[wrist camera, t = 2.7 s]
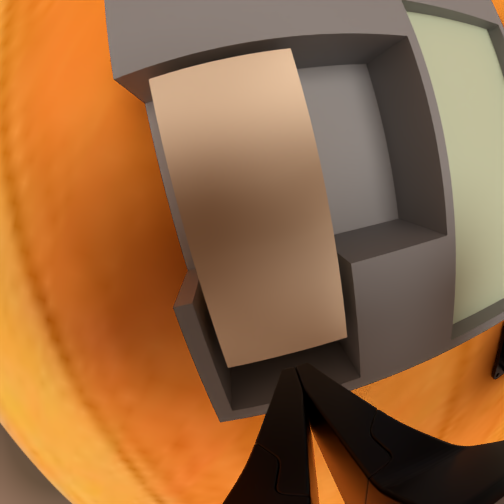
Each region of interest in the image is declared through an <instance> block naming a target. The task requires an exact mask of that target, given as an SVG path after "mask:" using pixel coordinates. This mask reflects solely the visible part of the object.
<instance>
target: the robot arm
mask: <svg viewBox="0 0 504 504" xmlns="http://www.w3.org/2000/svg"><path fill="white" fill-rule="evenodd" d="M503 374H504V326H503V331H502V336H501V341H500V345H499V349H498V354H497V358H496V362H495V365H494V369H493V373H492V378H493V379H497V378H498V377H500V376H501V375H503ZM310 427H311V428H310ZM311 430H312V432H313V434H314V437H315V439H316V441H317V443H318V446H319V448H320V450H321V452H322V454H323V457H324V459H325V461H326V463H327V465H328V468H329V470H330V472H331V474H332V476H333V478H334V481H335V483H336V485H337V487H338V489H339V491H340V494H341V496H342V498H343V500H344V502H345V504H504V440H503V441H498V442H493V443H487V444H481V445H475V446H459V445H454V444H451V443H448V442H445V441H442V440H440V439H437V438H435V437H432V436H430V435H427V434H425V433H423V432H420V431H418V430H416V429H413V428H411V427H409V426H407V425H405V424H403V423H401V422H399V421H397V420H395V419H393V418H392V417H390V416H388V415H387V414H385V413H383V412H382V411H380V410H377V408H375V407H374V406H372V405H371V404H369V403H368V402H366V401H365V400H363V399H361V398H360V397H358V396H357V395H355V394H354V393H352V392H351V391H349V390H348V389H346V388H345V387H343V386H342V385H340V384H339V383H337V382H336V381H334V380H333V379H331V378H330V377H328V376H327V375H325V374H324V373H323V372H321V371H320V370H318V369H317V368H315V367H314V366H312V365H311V364H310V363H304V364H300V365H297V366H296V367H293V366H292V367H288V368H284V369H282V370H281V373H280V376H279V379H278V382H277V385H276V387H275V390H274V393H273V396H272V399H271V402H270V404H269V407H268V410H267V413H266V415H265V418H264V421H263V424H262V426H261V429H260V431H259V434H258V437H257V439H256V442H255V445H254V447H253V449H252V452H251V454H250V457H249V459H248V461H247V463H246V465H245V468H244V469H243V471H242V473H241V475H240V476H239V478H238V480H237V482H236V483H235V485H234V486H233V488H232V490H231V491H230V493H229V494H228V496H227V497H226V499H225V500H224V502H223V504H319V497H318V487H317V478H316V468H315V460H314V451H313V442H312V435H311Z"/></svg>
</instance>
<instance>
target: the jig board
mask: <svg viewBox="0 0 504 504" xmlns="http://www.w3.org/2000/svg"><path fill="white" fill-rule="evenodd" d="M105 13H106V23H107V33H108V42H109V50H110V57H111V64H112V71H113V78H114V80H115V81H117V82H118V83H119V84H120V85H122V86H123V87H124V88H126V89H127V90H128V91H130V92H131V93H132V94H134V95H135V96H136V97H137V98H139V99H140V100H141V101H143V102H144V103H145V105H146V110H147V115H148V120H149V124H150V129H151V133H152V138H153V142H154V147H155V151H156V155H157V159H158V164H159V168H160V172H161V176H162V180H163V184H164V188H165V192H166V195H167V199H168V203H169V207H170V210H171V214H172V218H173V221H174V225H175V228H176V232H177V236H178V239H179V242H180V246H181V249H182V253H183V256H184V259H185V263H186V266H187V269H188V271H187V274H186V276H185V279H184V281H183V284H182V286H181V289H180V291H179V294H178V296H177V299H176V301H175V304H174V306H173V309H174V311H175V314H176V317H177V320H178V322H179V325H180V328H181V330H182V333H183V336H184V338H185V341H186V343H187V346H188V349H189V351H190V354H191V356H192V359H193V361H194V363H195V366H196V368H197V371H198V373H199V376H200V378H201V380H202V383H203V385H204V387H205V390H206V392H207V394H208V396H209V399H210V401H211V403H212V405H213V408H214V410H215V412H216V414H217V416H218V419H219V421H220V422H225V421H231V420H236V419H242V418H247V417H252V416H257V415H262V414H266V413H267V410H268V407H269V404H270V402H271V399H272V396H273V393H274V390H275V387H276V385H277V382H278V379H279V376H280V373H281V370H282V369H284V368H288V367H292V366H293V367H296V366H297V365H300V364H304V363H310V364H311V365H312V366H314V367H315V368H317V369H318V370H320V371H321V372H323V373H324V374H325V375H327V376H328V377H330V378H331V379H333V380H334V381H336V382H337V383H339V384H340V385H342V386H343V387H345V388H346V389H348V390H349V391H351V390H354V389H357V388H359V387H362V386H365V385H368V384H371V383H373V382H376V381H379V380H381V379H384V378H387V377H389V376H392V375H394V374H397V373H399V372H402V371H404V370H407V369H409V368H411V367H414V366H416V365H418V364H420V363H423V362H425V361H427V360H429V359H432V358H434V357H436V356H438V355H440V354H442V353H444V352H446V351H448V350H450V349H452V348H454V347H456V346H458V345H460V344H462V343H464V342H466V341H468V340H470V339H471V338H473V337H475V336H477V335H479V334H481V333H482V332H484V331H486V330H488V329H489V328H491V327H493V326H494V325H496V324H498V323H499V322H501V321H503V320H504V28H503V25H502V23H501V21H500V18H499V16H498V14H497V12H496V10H495V7H494V5H493V3H492V1H491V0H105ZM288 48H291V51H292V55H293V58H294V61H295V65H296V68H297V72H298V75H299V79H300V82H301V86H302V90H303V93H304V97H305V101H306V105H307V108H308V112H309V116H310V120H311V124H312V129H313V133H314V137H315V141H316V146H317V150H318V154H319V159H320V164H321V168H322V173H323V178H324V183H325V188H326V193H327V198H328V204H329V209H330V215H331V220H332V226H333V232H334V238H335V244H336V251H337V257H338V264H339V271H340V278H341V286H342V294H343V302H344V311H345V320H346V330H347V337H346V338H343V339H340V340H336V341H333V342H330V343H326V344H323V345H319V346H316V347H312V348H309V349H305V350H302V351H298V352H294V353H290V354H286V355H282V356H278V357H274V358H270V359H266V360H262V361H257V362H253V363H249V364H244V365H239V366H235V367H230V368H228V367H227V364H226V361H225V358H224V355H223V352H222V349H221V346H220V343H219V340H218V338H217V335H216V332H215V329H214V326H213V322H212V319H211V316H210V313H209V310H208V307H207V304H206V301H205V298H204V294H203V291H202V288H201V285H200V281H199V278H198V275H197V272H196V268H195V265H194V261H193V258H192V255H191V251H190V248H189V244H188V241H187V237H186V234H185V230H184V227H183V223H182V219H181V216H180V212H179V208H178V204H177V201H176V197H175V193H174V189H173V185H172V181H171V177H170V173H169V169H168V165H167V161H166V157H165V153H164V148H163V144H162V140H161V135H160V131H159V127H158V122H157V117H156V113H155V108H154V103H153V99H152V94H151V89H150V84H149V79H151V78H154V77H157V76H161V75H164V74H167V73H170V72H174V71H177V70H181V69H185V68H188V67H192V66H196V65H200V64H204V63H208V62H212V61H217V60H221V59H226V58H231V57H236V56H241V55H247V54H253V53H259V52H265V51H272V50H280V49H288Z"/></svg>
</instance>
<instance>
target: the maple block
mask: <svg viewBox="0 0 504 504" xmlns="http://www.w3.org/2000/svg"><path fill="white" fill-rule="evenodd" d="M149 84H150V89H151V94H152V99H153V103H154V108H155V113H156V117H157V122H158V127H159V131H160V135H161V140H162V144H163V148H164V153H165V157H166V161H167V165H168V169H169V173H170V177H171V181H172V185H173V189H174V193H175V197H176V201H177V204H178V208H179V212H180V216H181V219H182V223H183V227H184V230H185V234H186V237H187V241H188V244H189V248H190V251H191V255H192V258H193V261H194V265H195V268H196V272H197V275H198V278H199V281H200V285H201V288H202V291H203V294H204V298H205V301H206V304H207V307H208V310H209V313H210V316H211V319H212V322H213V326H214V329H215V332H216V335H217V338H218V340H219V343H220V346H221V349H222V352H223V355H224V358H225V361H226V364H227V367H228V368H230V367H235V366H239V365H244V364H249V363H253V362H257V361H262V360H266V359H270V358H274V357H278V356H282V355H286V354H290V353H294V352H298V351H302V350H305V349H309V348H312V347H316V346H319V345H323V344H326V343H330V342H333V341H336V340H340V339H343V338H346V337H347V330H346V320H345V311H344V302H343V294H342V286H341V278H340V271H339V264H338V257H337V251H336V244H335V238H334V232H333V226H332V220H331V215H330V209H329V204H328V198H327V193H326V188H325V183H324V178H323V173H322V168H321V164H320V159H319V154H318V150H317V146H316V141H315V137H314V133H313V129H312V124H311V120H310V116H309V112H308V108H307V105H306V101H305V97H304V93H303V90H302V86H301V82H300V79H299V75H298V72H297V68H296V65H295V61H294V58H293V55H292V51H291V48H288V49H280V50H272V51H265V52H259V53H253V54H247V55H241V56H236V57H231V58H226V59H221V60H217V61H212V62H208V63H204V64H200V65H196V66H192V67H188V68H185V69H181V70H177V71H174V72H170V73H167V74H164V75H161V76H157V77H154V78H151V79H149Z"/></svg>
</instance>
